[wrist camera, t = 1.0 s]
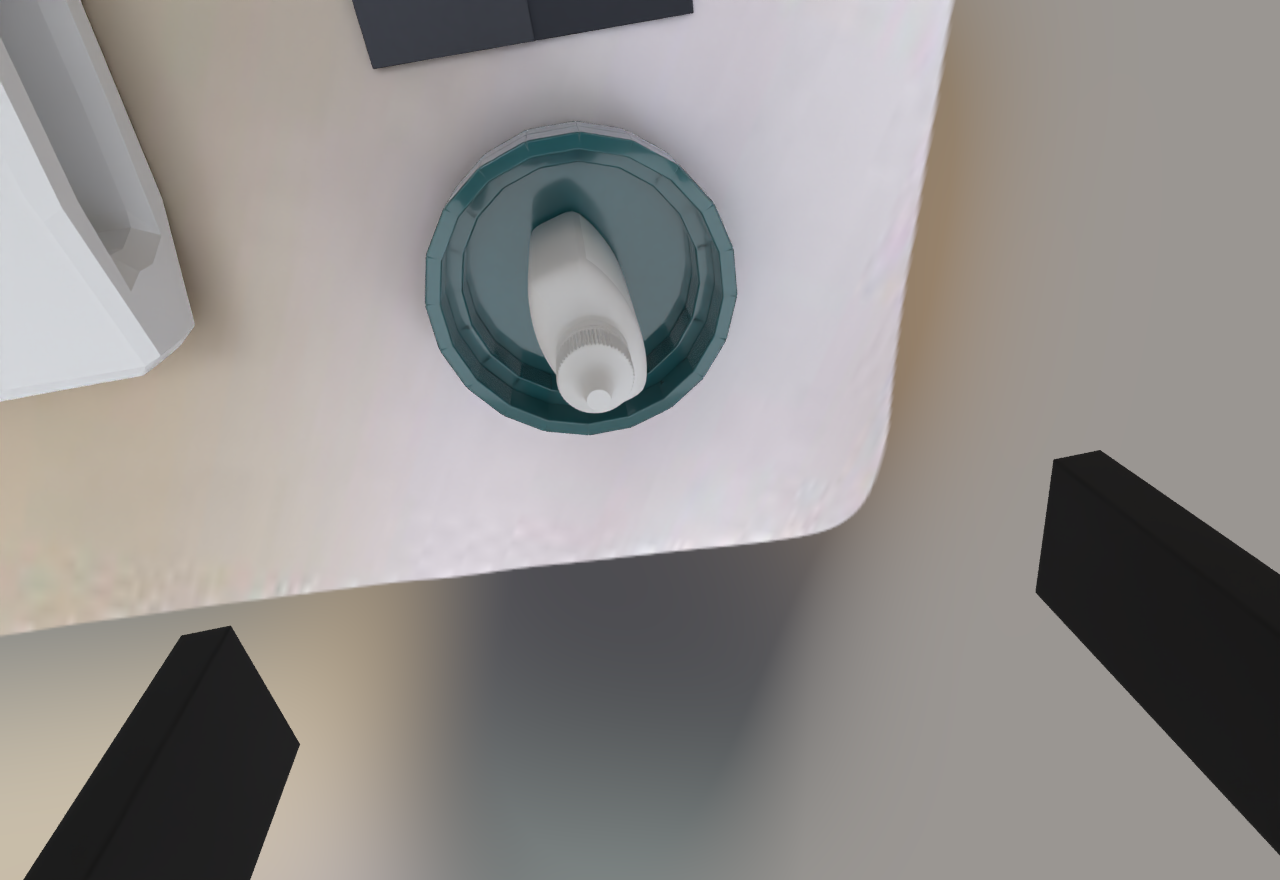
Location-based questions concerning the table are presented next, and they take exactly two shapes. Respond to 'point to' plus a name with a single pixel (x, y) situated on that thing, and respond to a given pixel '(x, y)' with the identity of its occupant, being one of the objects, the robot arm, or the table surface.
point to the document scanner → (76, 216)
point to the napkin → (489, 23)
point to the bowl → (638, 236)
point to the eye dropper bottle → (584, 315)
